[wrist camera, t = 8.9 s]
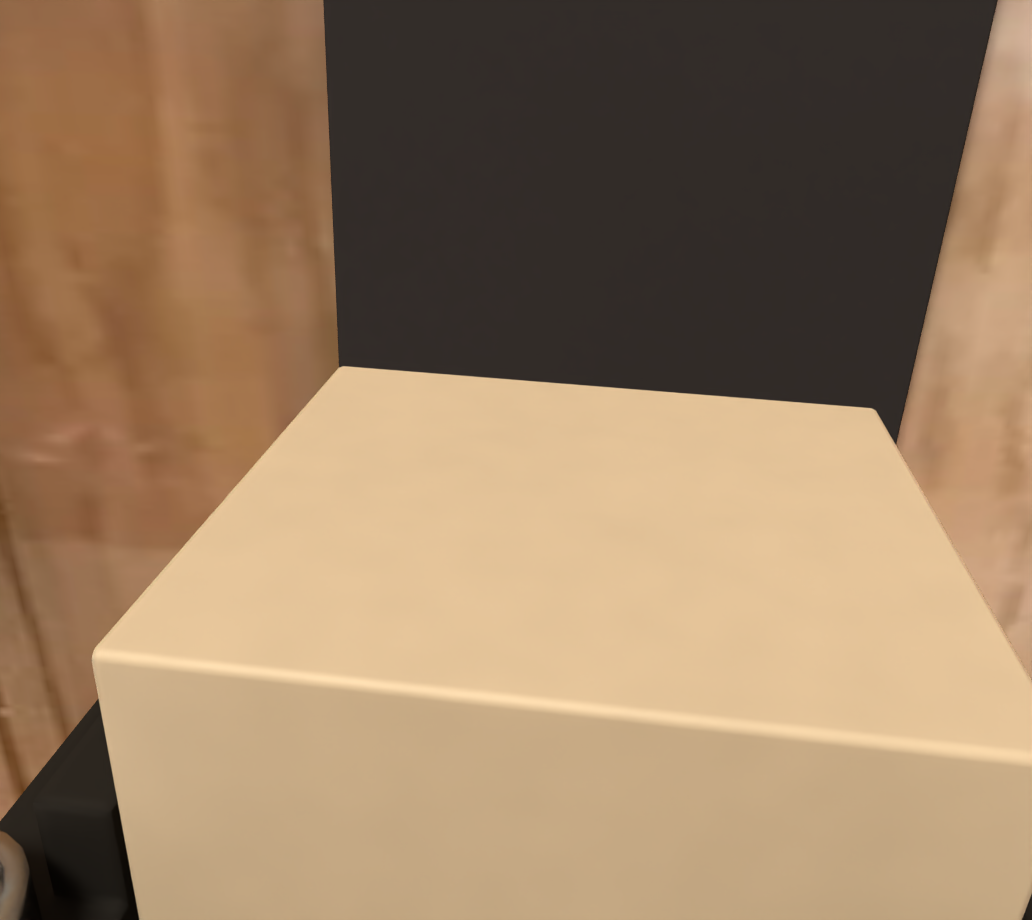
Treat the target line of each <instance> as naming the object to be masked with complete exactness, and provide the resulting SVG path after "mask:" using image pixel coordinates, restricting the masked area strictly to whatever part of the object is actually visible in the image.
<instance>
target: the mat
mask: <svg viewBox="0 0 1032 920" xmlns="http://www.w3.org/2000/svg"><path fill="white" fill-rule="evenodd" d="M996 5H997V0H324V23H325V46H326V70H327V93H328V116H329V140H330V163H331V186H332V210H333V233H334V256H335V280H336V303H337V327H338V350H339V367H342V366H347V367H359V368H372V369H385V370H397V371H410V372H422V373H435V374H447V375H460V376H473V377H485V378H498V379H510V380H523V381H535V382H548V383H560V384H573V385H586V386H598V387H611V388H623V389H636V390H648V391H661V392H674V393H686V394H699V395H711V396H724V397H736V398H749V399H762V400H774V401H787V402H799V403H812V404H824V405H837V406H849V407H862V408H872V409H874V410H876V412H877V414H878V415H879V417H880V419H881V420H882V422H883V424H884V426H885V427H886V429H887V431H888V433H889V434H890V436H891V438H892V439H893V441H894V443H895V445H896V442H897V437H898V433H899V429H900V424H901V420H902V416H903V411H904V407H905V402H906V398H907V394H908V389H909V385H910V381H911V376H912V372H913V367H914V363H915V359H916V354H917V350H918V346H919V341H920V337H921V332H922V328H923V324H924V319H925V315H926V311H927V306H928V302H929V298H930V293H931V289H932V284H933V280H934V276H935V271H936V267H937V263H938V258H939V254H940V249H941V245H942V241H943V236H944V232H945V228H946V223H947V219H948V214H949V210H950V206H951V201H952V197H953V193H954V188H955V184H956V179H957V175H958V171H959V166H960V162H961V158H962V153H963V149H964V145H965V140H966V136H967V131H968V127H969V123H970V118H971V114H972V110H973V105H974V101H975V96H976V92H977V88H978V83H979V79H980V75H981V70H982V66H983V61H984V57H985V53H986V48H987V44H988V40H989V35H990V31H991V27H992V22H993V18H994V13H995V9H996Z"/></svg>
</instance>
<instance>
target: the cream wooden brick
mask: <svg viewBox="0 0 1032 920" xmlns="http://www.w3.org/2000/svg"><path fill="white" fill-rule="evenodd" d="M92 665H93V671H94V676H95V681H96V687H97V692H98V698H99V703H100V709H101V714H102V719H103V725H104V730H105V736H106V741H107V747H108V752H109V757H110V763H111V768H112V774H113V779H114V785H115V790H116V795H117V801H118V806H119V812H120V817H121V823H122V828H123V833H124V839H125V844H126V850H127V855H128V860H129V866H130V871H131V877H132V882H133V888H134V893H135V898H136V904H137V909H138V915H139V920H1022V918H1023V916H1024V913H1025V910H1026V908H1027V905H1028V902H1029V900H1030V897H1031V894H1032V679H1031V677H1030V676H1029V674H1028V672H1027V670H1026V669H1025V667H1024V665H1023V664H1022V662H1021V660H1020V658H1019V657H1018V655H1017V653H1016V651H1015V650H1014V648H1013V646H1012V645H1011V643H1010V641H1009V639H1008V638H1007V636H1006V634H1005V632H1004V631H1003V629H1002V627H1001V626H1000V624H999V622H998V620H997V619H996V617H995V615H994V614H993V612H992V610H991V608H990V607H989V605H988V603H987V601H986V600H985V598H984V596H983V595H982V593H981V591H980V589H979V588H978V586H977V584H976V583H975V581H974V579H973V577H972V576H971V574H970V572H969V570H968V569H967V567H966V565H965V564H964V562H963V560H962V558H961V557H960V555H959V553H958V551H957V550H956V548H955V546H954V545H953V543H952V541H951V539H950V538H949V536H948V534H947V533H946V531H945V529H944V527H943V526H942V524H941V522H940V520H939V519H938V517H937V515H936V514H935V512H934V510H933V508H932V507H931V505H930V503H929V501H928V500H927V498H926V496H925V495H924V493H923V491H922V489H921V488H920V486H919V484H918V483H917V481H916V479H915V477H914V476H913V474H912V472H911V470H910V469H909V467H908V465H907V464H906V462H905V460H904V458H903V457H902V455H901V453H900V451H899V450H898V448H897V446H896V445H895V443H894V441H893V439H892V438H891V436H890V434H889V433H888V431H887V429H886V427H885V426H884V424H883V422H882V420H881V419H880V417H879V415H878V414H877V412H876V410H874V409H872V408H862V407H849V406H837V405H824V404H812V403H799V402H787V401H774V400H762V399H749V398H736V397H724V396H711V395H699V394H686V393H674V392H661V391H648V390H636V389H623V388H611V387H598V386H586V385H573V384H560V383H548V382H535V381H523V380H510V379H498V378H485V377H473V376H460V375H447V374H435V373H422V372H410V371H397V370H385V369H372V368H359V367H347V366H342V367H339V368H338V369H337V370H336V372H335V373H334V374H333V375H332V376H331V377H330V378H329V380H328V381H327V382H326V383H325V384H324V385H323V387H322V388H321V389H320V390H319V391H318V392H317V393H316V395H315V396H314V397H313V398H312V399H311V400H310V401H309V403H308V404H307V405H306V406H305V407H304V408H303V410H302V411H301V412H300V413H299V414H298V415H297V416H296V418H295V419H294V420H293V421H292V422H291V423H290V424H289V426H288V427H287V428H286V429H285V430H284V431H283V433H282V434H281V435H280V436H279V437H278V438H277V439H276V441H275V442H274V443H273V444H272V445H271V446H270V447H269V449H268V450H267V451H266V452H265V453H264V454H263V456H262V457H261V458H260V459H259V460H258V461H257V462H256V464H255V465H254V466H253V467H252V468H251V469H250V470H249V472H248V473H247V474H246V475H245V476H244V477H243V479H242V480H241V481H240V482H239V483H238V484H237V485H236V487H235V488H234V489H233V490H232V491H231V492H230V493H229V495H228V496H227V497H226V498H225V499H224V500H223V502H222V503H221V504H220V505H219V506H218V507H217V508H216V510H215V511H214V512H213V513H212V514H211V515H210V516H209V518H208V519H207V520H206V521H205V522H204V523H203V525H202V526H201V527H200V528H199V529H198V530H197V531H196V533H195V534H194V535H193V536H192V537H191V538H190V539H189V541H188V542H187V543H186V544H185V545H184V546H183V548H182V549H181V550H180V551H179V552H178V553H177V554H176V556H175V557H174V558H173V559H172V560H171V561H170V562H169V564H168V565H167V566H166V567H165V568H164V569H163V571H162V572H161V573H160V574H159V575H158V576H157V577H156V579H155V580H154V581H153V582H152V583H151V584H150V585H149V587H148V588H147V589H146V590H145V591H144V592H143V594H142V595H141V596H140V597H139V598H138V599H137V600H136V602H135V603H134V604H133V605H132V606H131V607H130V608H129V610H128V611H127V612H126V613H125V614H124V615H123V617H122V618H121V619H120V620H119V621H118V622H117V623H116V625H115V626H114V627H113V628H112V629H111V630H110V631H109V633H108V634H107V635H106V636H105V637H104V638H103V640H102V641H101V642H100V643H99V644H98V645H97V646H96V648H95V649H94V652H93V656H92Z"/></svg>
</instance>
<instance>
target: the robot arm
mask: <svg viewBox="0 0 1032 920" xmlns="http://www.w3.org/2000/svg"><path fill="white" fill-rule="evenodd" d="M0 920H139V915H138V909H137V904H136V898H135V893H134V888H133V882H132V877H131V871H130V866H129V860H128V855H127V850H126V844H125V839H124V833H123V828H122V823H121V817H120V812H119V806H118V801H117V795H116V790H115V785H114V779H113V774H112V768H111V763H110V757H109V752H108V747H107V741H106V736H105V730H104V725H103V719H102V714H101V709H100V703H99V699H98V700H97V701H96V702H95V704H94V705H93V706H92V707H91V709H90V710H89V711H88V712H87V714H86V715H85V716H84V717H83V719H82V720H81V721H80V722H79V724H78V725H77V726H76V727H75V729H74V730H73V731H72V732H71V734H70V735H69V736H68V737H67V739H66V740H65V741H64V742H63V744H62V745H61V746H60V747H59V749H58V750H57V751H56V752H55V754H54V755H53V756H52V757H51V759H50V760H49V761H48V762H47V764H46V765H45V766H44V767H43V769H42V770H41V771H40V772H39V774H38V775H37V776H36V777H35V779H34V780H33V781H32V782H31V784H30V785H29V786H28V787H27V789H26V790H25V791H24V792H23V794H22V795H21V796H20V797H19V799H18V800H17V801H16V802H15V804H14V805H13V806H12V807H11V809H10V810H9V811H8V812H7V814H6V815H5V816H4V817H3V819H2V820H1V821H0ZM1022 920H1032V894H1031V897H1030V900H1029V902H1028V905H1027V908H1026V910H1025V913H1024V916H1023V918H1022Z"/></svg>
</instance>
